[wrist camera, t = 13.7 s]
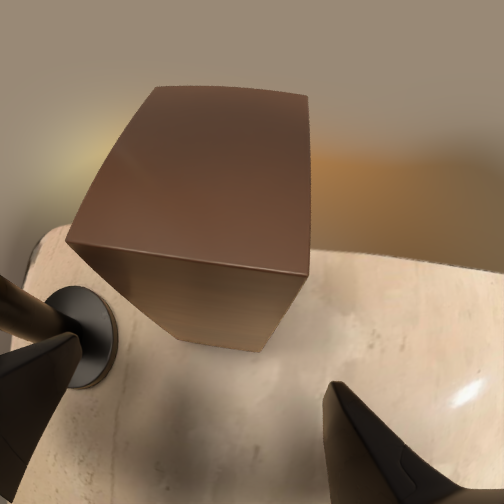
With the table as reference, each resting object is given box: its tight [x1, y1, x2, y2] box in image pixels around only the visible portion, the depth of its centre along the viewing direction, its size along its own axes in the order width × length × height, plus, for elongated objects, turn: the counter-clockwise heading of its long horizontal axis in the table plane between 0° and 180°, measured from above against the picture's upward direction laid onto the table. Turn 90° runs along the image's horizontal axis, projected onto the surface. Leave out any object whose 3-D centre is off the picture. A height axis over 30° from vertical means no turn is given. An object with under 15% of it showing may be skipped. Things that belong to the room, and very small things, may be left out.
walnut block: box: [65, 86, 311, 352], centre depth 11 cm, size 6×5×12 cm
